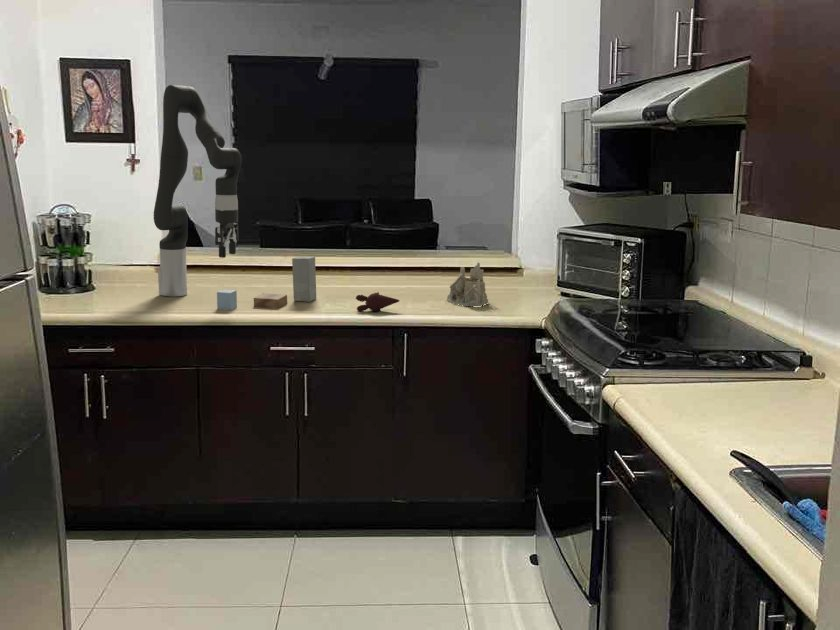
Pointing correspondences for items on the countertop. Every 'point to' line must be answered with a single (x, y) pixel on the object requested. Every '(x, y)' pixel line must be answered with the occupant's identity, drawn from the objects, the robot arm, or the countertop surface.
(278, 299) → the walnut base
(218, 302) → the blue block
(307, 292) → the skincare box
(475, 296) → the ceramic cottage
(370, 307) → the icecream
